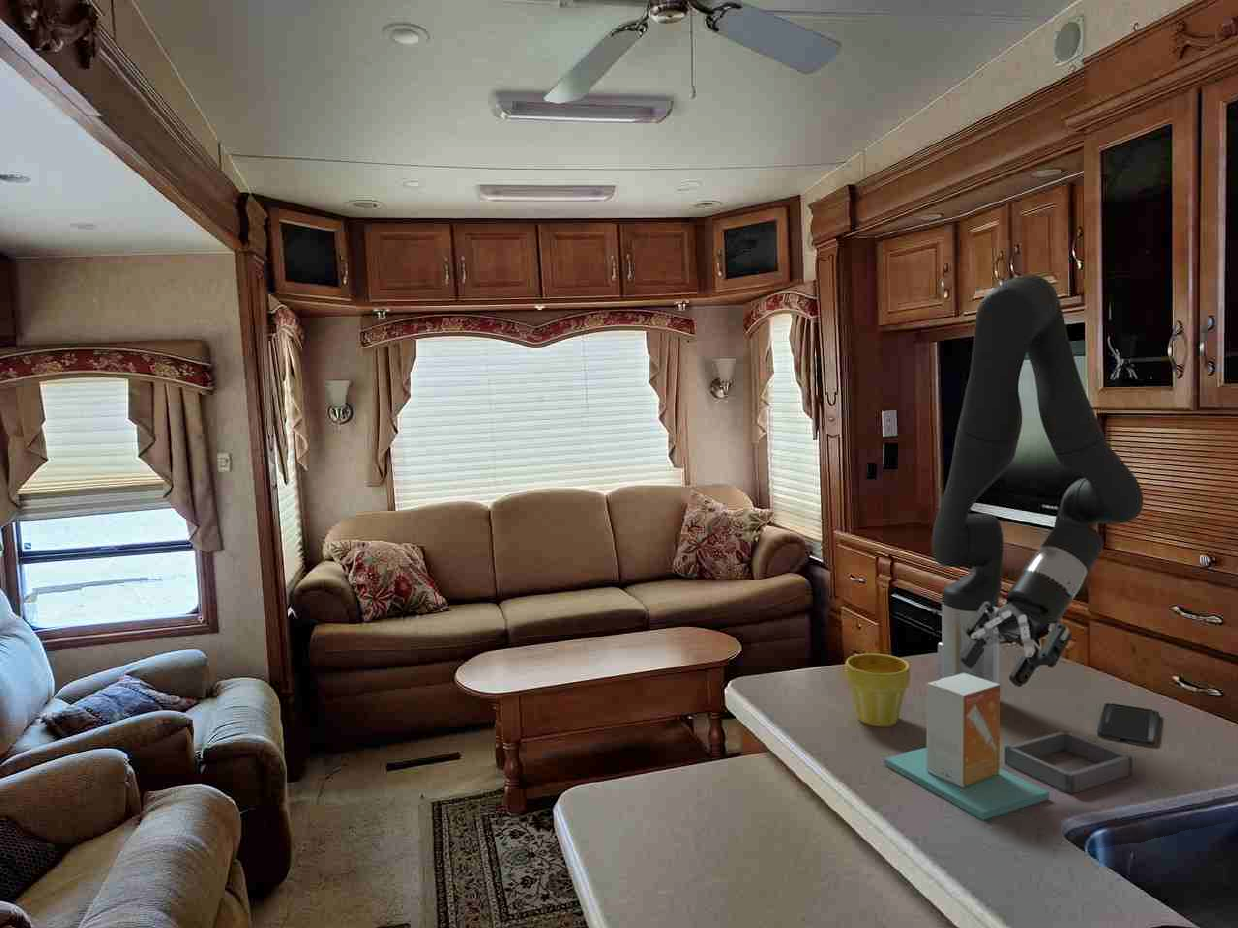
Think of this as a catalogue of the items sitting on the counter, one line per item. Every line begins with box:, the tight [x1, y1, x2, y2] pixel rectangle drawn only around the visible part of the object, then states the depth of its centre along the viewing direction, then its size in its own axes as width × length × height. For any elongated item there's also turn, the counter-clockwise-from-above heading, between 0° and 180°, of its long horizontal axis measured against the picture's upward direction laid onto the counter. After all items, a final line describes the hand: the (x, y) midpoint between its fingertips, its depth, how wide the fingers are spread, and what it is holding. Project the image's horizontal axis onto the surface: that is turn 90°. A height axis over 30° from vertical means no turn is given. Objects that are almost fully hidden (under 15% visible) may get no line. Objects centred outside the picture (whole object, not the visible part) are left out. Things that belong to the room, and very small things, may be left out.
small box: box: [925, 673, 1001, 788], centre depth 115 cm, size 8×6×13 cm
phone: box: [1096, 702, 1160, 748], centre depth 132 cm, size 8×1×15 cm
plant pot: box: [844, 653, 911, 727], centre depth 138 cm, size 10×10×10 cm
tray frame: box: [1004, 730, 1133, 795], centre depth 118 cm, size 11×13×2 cm
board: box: [883, 747, 1050, 821], centre depth 115 cm, size 18×12×1 cm, turn 24°
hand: (989, 673), depth 117 cm, fingers open, 8 cm apart
